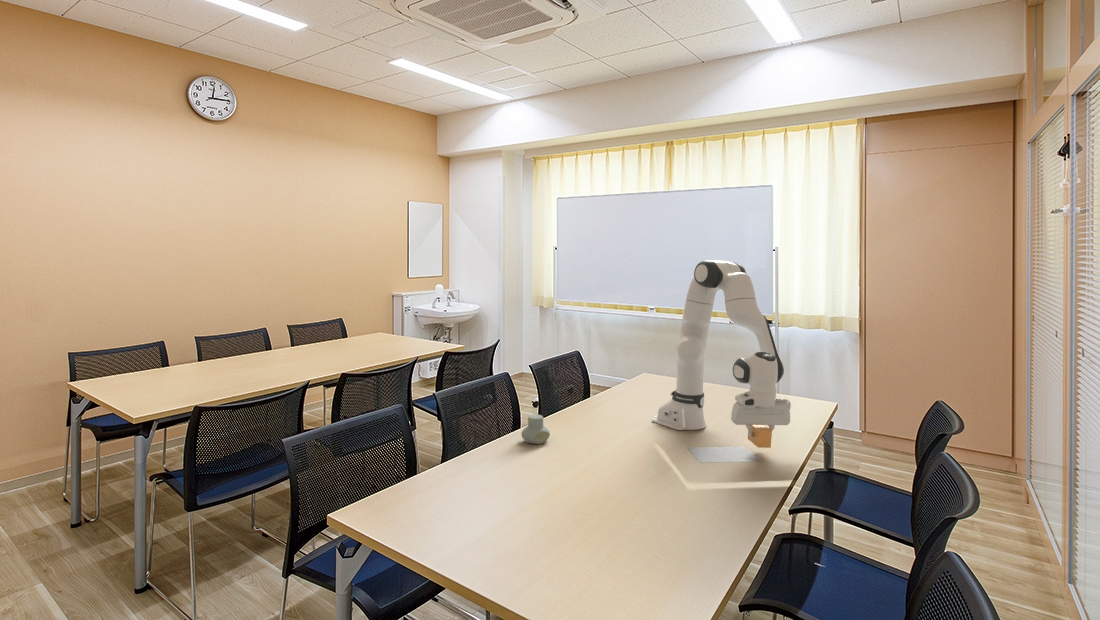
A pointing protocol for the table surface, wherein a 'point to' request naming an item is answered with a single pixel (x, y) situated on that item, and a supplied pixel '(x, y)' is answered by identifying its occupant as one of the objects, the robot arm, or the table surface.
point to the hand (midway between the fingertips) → (759, 436)
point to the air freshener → (535, 430)
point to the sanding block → (761, 436)
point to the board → (723, 454)
